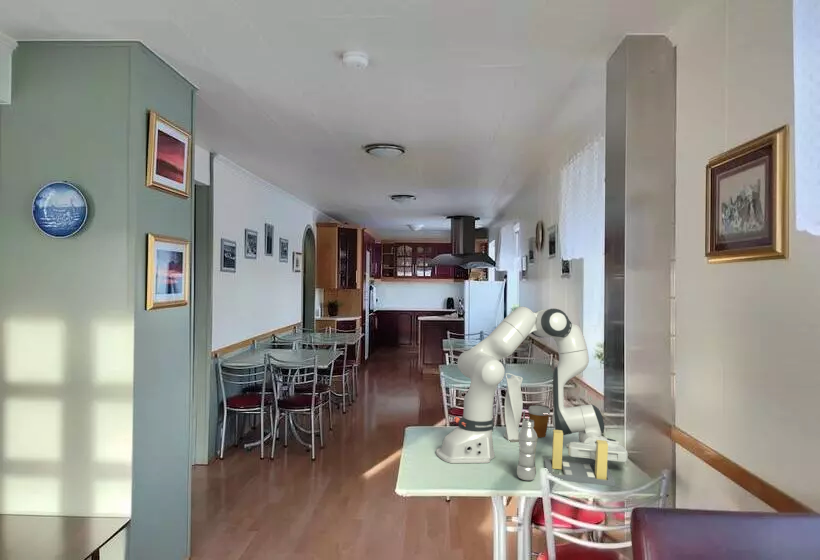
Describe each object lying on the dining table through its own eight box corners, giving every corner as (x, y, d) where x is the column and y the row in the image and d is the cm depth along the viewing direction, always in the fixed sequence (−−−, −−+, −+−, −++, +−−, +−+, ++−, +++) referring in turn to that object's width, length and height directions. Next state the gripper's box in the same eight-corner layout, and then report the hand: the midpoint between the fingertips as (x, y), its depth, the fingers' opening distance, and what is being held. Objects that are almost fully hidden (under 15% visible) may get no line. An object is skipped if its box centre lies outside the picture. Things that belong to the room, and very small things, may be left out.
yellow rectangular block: (561, 469, 191) (563, 433, 191) (552, 468, 192) (554, 432, 191) (560, 465, 195) (562, 430, 195) (551, 464, 196) (553, 429, 195)
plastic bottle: (539, 479, 181) (542, 421, 181) (529, 484, 176) (532, 424, 176) (522, 473, 186) (525, 416, 185) (512, 478, 181) (515, 420, 180)
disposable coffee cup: (541, 440, 225) (542, 412, 224) (522, 434, 232) (523, 407, 232) (553, 436, 231) (554, 408, 231) (535, 430, 238) (536, 404, 238)
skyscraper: (507, 442, 220) (510, 375, 219) (499, 436, 228) (502, 371, 227) (525, 441, 222) (529, 375, 221) (517, 435, 230) (520, 371, 229)
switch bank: (614, 486, 178) (615, 481, 178) (547, 478, 182) (547, 473, 182) (606, 469, 194) (606, 464, 194) (544, 462, 198) (544, 458, 198)
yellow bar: (606, 482, 181) (608, 444, 180) (596, 481, 181) (598, 443, 181) (604, 477, 185) (606, 440, 184) (594, 476, 185) (596, 439, 185)
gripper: (565, 435, 200) (569, 447, 187) (623, 441, 197) (631, 453, 183) (565, 452, 200) (568, 465, 187) (622, 458, 197) (630, 471, 183)
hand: (600, 459), depth 185 cm, fingers closed
